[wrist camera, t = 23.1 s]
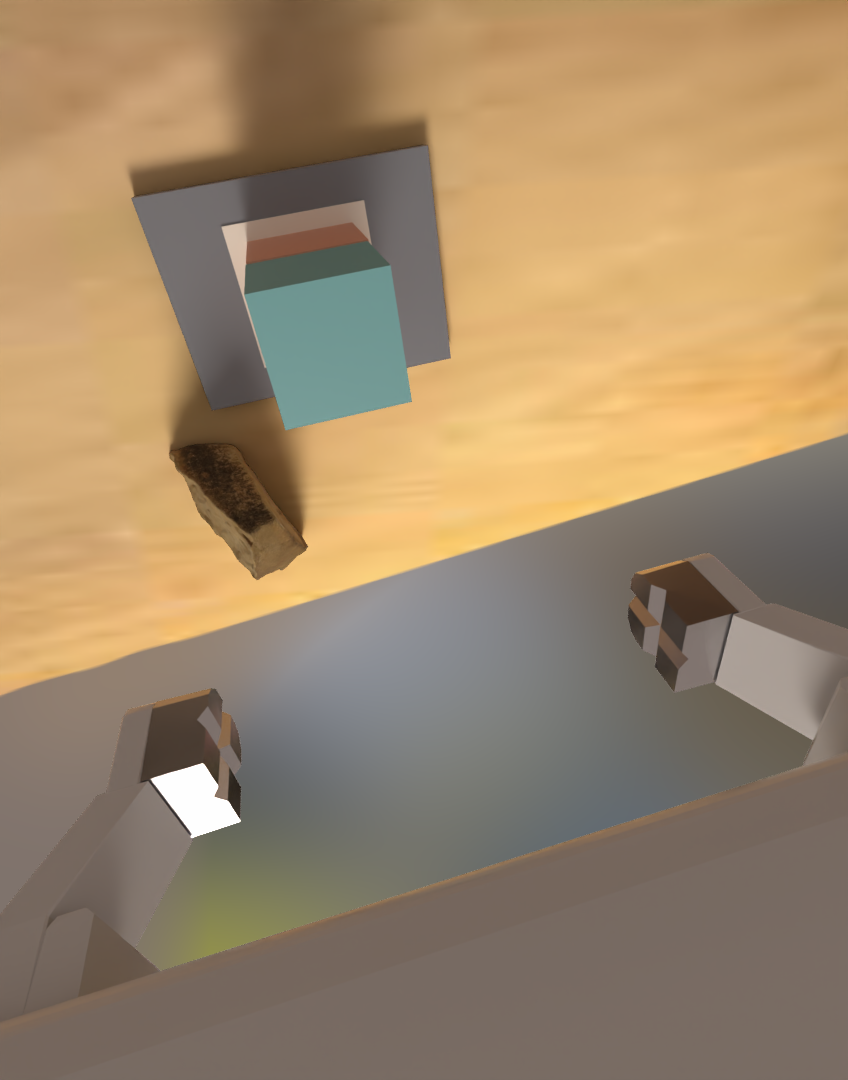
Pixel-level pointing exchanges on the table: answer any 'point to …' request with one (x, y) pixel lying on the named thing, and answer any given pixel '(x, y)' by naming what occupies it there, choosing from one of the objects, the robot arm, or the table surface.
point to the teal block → (328, 333)
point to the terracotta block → (303, 242)
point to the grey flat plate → (283, 208)
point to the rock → (238, 507)
